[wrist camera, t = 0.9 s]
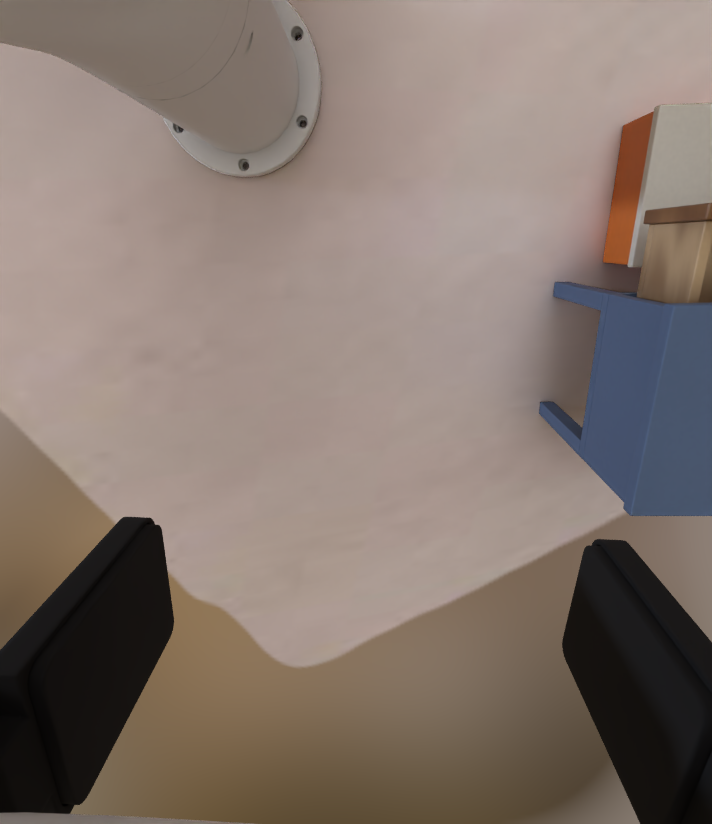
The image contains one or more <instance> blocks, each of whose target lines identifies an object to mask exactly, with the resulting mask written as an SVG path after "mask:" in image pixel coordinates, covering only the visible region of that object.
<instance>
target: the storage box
mask: <svg viewBox="0 0 712 824" xmlns="http://www.w3.org/2000/svg"><path fill="white" fill-rule="evenodd" d="M703 203H712V103H696V104H669V105H659V106H657V107H655V108H654V112H651V113H649V114H647V115H645V116H643V117H641V118H639V119H637V120H634V121H632V122H630V123H628V124H626V125H624V126H623V132H622V139H621V145H620V152H619V159H618V165H617V172H616V178H615V185H614V192H613V198H612V205H611V211H610V218H609V225H608V231H607V238H606V244H605V251H604V258H603V262H604V263H614V264H625V265H628V267H632V268H633V267H642V264H643V258H644V252H645V247H646V241H647V236H648V230H649V225H650V224H643V222H644V216H645V211H646V210H652V209H661V208H669V207H678V206H686V205H695V204H703Z"/></svg>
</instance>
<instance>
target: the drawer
mask: <svg viewBox="0 0 712 824" xmlns="http://www.w3.org/2000/svg"><path fill="white" fill-rule="evenodd" d="M643 224H650V225H649V230H648V236H647V241H646V247H645V252H644V258H643V264H642V269H641V275H640V280H639V286H638V291H637V298H642V299H647V300H651V301H656V302H661V303H710V302H712V203H703V204H695V205H686V206H678V207H669V208H661V209H652V210H646V211H645V216H644V222H643Z"/></svg>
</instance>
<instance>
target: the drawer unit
mask: <svg viewBox="0 0 712 824" xmlns="http://www.w3.org/2000/svg"><path fill="white" fill-rule="evenodd" d="M553 296H554V297H557V298H561V299H564V300H567V301H571V302H574V303H577V304H580V305H584V306H587V307H590V308H594V309H597V310H600V311H601V314H600V320H599V326H598V333H597V339H596V346H595V352H594V359H593V365H592V371H591V378H590V384H589V391H588V397H587V404H586V410H585V416H584V423H583V428H582V427H581V426H580V425H579V424H577V423H576V422H575V421H574V420H573V419H572V418H571V417H570V416H568V415H567V414H566V413H565V412H564V411H563V410H562V409H561V408H560V407H558V406H557V405H556V404H555V403H554V402H540V410H539V414H540V415H541V416H542V417H543V418H544V419H545V420H546V421H547V422H548V424H549V425H550V426H551V427H552V428H553V429H554V430H555V431H556V432H557V433H558V434H559V435H560V436H561V437H562V438H563V439H564V440H565V441H566V442H567V443H568V444H569V445H570V447H571V448H572V449H573V450H574V451H575V452H576V453H577V454H578V455H579V456H580V457H581V458H582V459H583V460H584V461H585V462H586V463H587V464H588V465H589V466H590V467H591V468H592V469H593V470H594V471H595V472H596V473H597V475H598V476H599V477H600V478H601V479H602V480H603V481H604V482H605V483H606V484H607V485H608V486H609V487H610V488H611V489H612V490H613V491H614V492H615V493H616V494H617V495H618V496H619V498H620V499H621V500H622V501H623V502H624V507H623V508H624V510H625V511H626V512H627V513H628V514H629V515H630V516H712V302H710V303H661V302H656V301H651V300H647V299H642V298H637V292H626V293H620V292H615V291H611V290H606V289H601V288H596V287H591V286H586V285H581V284H576V283H572V282H555V286H554V294H553Z"/></svg>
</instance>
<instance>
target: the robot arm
mask: <svg viewBox="0 0 712 824" xmlns="http://www.w3.org/2000/svg"><path fill="white" fill-rule="evenodd" d="M297 35H301V36H302V39H301V40H299V41H296V40H295V39H296V36H297ZM0 43H4V44H9V45H13V46H18V47H22V48H27V49H31V50H36V51H41V52H44V53H48V54H51V55H53V56H56V57H59V58H61V59H63V60H65V61H67V62H69V63H71V64H73V65H75V66H77V67H79V68H81V69H83V70H84V71H86V72H88V73H90V74H92V75H93V76H95V77H97V78H98V79H100V80H102V81H104V82H105V83H107V84H109V85H110V86H112V87H114V88H116V89H117V90H119V91H120V92H122V93H124V94H125V95H127V96H129V97H131V98H132V99H134V100H136V101H137V102H139V103H141V104H142V105H144V106H146V107H147V108H149V109H151V110H153V111H154V112H156V113H158V114H159V115H161V116H162V117H163V119H164V121H165V123H166V125H167V127H168V128H169V130H170V132H171V133H172V135H173V137H174V138H175V139H176V140H177V142H178V143H179V144H180V145H181V146H182V148H183V149H184V150H185V151H186V152H187V153H189V154H190V155H191V156H192V157H193V158H194V159H196V160H197V161H198V162H200V163H202V164H203V165H205V166H207V167H209V168H210V169H212V170H215V171H217V172H219V173H222V174H226V175H230V176H234V177H256V176H261V175H266V174H268V173H271V172H273V171H275V170H277V169H280V168H281V167H282V166H284V165H285V164H287V163H288V162H289V161H291V160H292V159H293V158H294V157H295V156H296V155H297V153H298V152H299V151H300V150H301V149H302V148H303V146H304V145H305V143H306V141H307V140H308V138H309V137H310V135H311V133H312V130H313V128H314V125H315V123H316V120H317V117H318V112H319V107H320V102H321V84H322V81H321V73H320V65H319V61H318V57H317V53H316V49H315V46H314V44H313V41H312V39H311V36H310V33H309V31H308V29H307V28H306V26H305V24H304V22H303V21H302V19H301V17H300V16H299V14H298V13H297V12H296V11H295V9H294V8H293V7H292V6H291V5H290V3H289V2H288V1H287V0H0ZM302 121H305V122H306V123H307V124H306V127H304V128H302V127H301V126H300V124H301V122H302ZM180 127H181V128H183V129H184V130H183V132H181V130H180ZM245 163H248V164H249V168H248V169H246V170H245V169H244V164H245ZM173 625H174V617H173V609H172V601H171V594H170V587H169V579H168V572H167V565H166V557H165V550H164V542H163V535H162V529H161V527H160V526H159V525H155V524H154V521H153V520H152V519H151V518H141V517H123V518H122V519H121V520H120V521H119V522H118V523H117V524H116V525H115V526H114V527H113V528H112V529H111V530H110V531H109V533H108V534H107V535H106V536H105V537H104V538H103V539H102V540H101V541H100V542H99V543H98V545H97V546H96V547H95V548H94V549H93V550H92V551H91V552H90V553H89V554H88V556H87V557H86V558H85V559H84V560H83V561H82V562H81V563H80V564H79V565H78V566H77V567H76V569H75V570H74V571H73V572H72V573H71V574H70V575H69V576H68V577H67V578H66V579H65V580H64V581H63V583H62V584H61V585H60V586H59V587H58V588H57V589H56V590H55V591H54V592H53V593H52V595H51V596H50V597H49V598H48V599H47V600H46V601H45V602H44V603H43V604H42V606H41V607H40V608H39V609H38V610H37V611H36V612H35V613H34V614H33V615H32V616H31V617H30V618H29V620H28V621H27V622H26V623H25V624H24V625H23V626H22V627H21V628H20V629H19V630H18V632H17V633H16V634H15V635H14V636H13V637H12V638H11V639H10V640H9V641H8V642H7V643H6V645H5V646H4V647H3V648H2V649H1V650H0V824H249V823H231V822H215V821H197V820H181V819H164V818H147V817H129V816H108V815H81V814H70V812H71V810H72V809H73V807H74V805H80V804H81V803H83V801H84V800H85V799H86V798H87V796H88V794H89V793H90V791H91V789H92V787H93V785H94V783H95V781H96V779H97V777H98V775H99V773H100V771H101V769H102V768H103V766H104V764H105V762H106V760H107V758H108V756H109V754H110V752H111V750H112V748H113V746H114V744H115V742H116V740H117V739H118V737H119V735H120V733H121V731H122V729H123V727H124V725H125V723H126V721H127V719H128V717H129V716H130V714H131V712H132V709H133V708H134V706H135V704H136V702H137V700H138V698H139V696H140V694H141V692H142V690H143V689H144V687H145V685H146V683H147V681H148V678H149V677H150V675H151V673H152V671H153V669H154V668H155V665H156V664H157V662H158V660H159V658H160V656H161V654H162V652H163V650H164V648H165V646H166V644H167V642H168V641H169V639H170V636H171V634H172V631H173ZM562 647H563V653H564V657H565V660H566V662H567V664H568V666H569V668H570V671H571V673H572V675H573V677H574V679H575V682H576V684H577V686H578V688H579V690H580V693H581V695H582V697H583V699H584V701H585V703H586V706H587V708H588V710H589V712H590V714H591V717H592V719H593V721H594V723H595V725H596V727H597V730H598V732H599V734H600V736H601V739H602V741H603V743H604V745H605V747H606V749H607V752H608V754H609V756H610V758H611V760H612V762H613V765H614V767H615V769H616V771H617V774H618V776H619V778H620V780H621V782H622V785H623V787H624V789H625V791H626V793H627V796H628V798H629V800H630V802H631V804H632V807H633V809H634V811H635V813H636V815H637V818H638V820H639V822H640V824H712V642H711V641H710V640H709V639H708V637H707V636H706V635H705V634H704V633H703V631H702V630H701V629H700V628H699V627H698V625H697V624H696V623H695V622H694V621H693V620H692V618H691V617H690V616H689V615H688V614H687V613H686V612H685V610H684V609H683V608H682V606H681V605H680V604H679V603H678V602H677V601H676V599H675V598H674V597H673V596H672V595H671V593H670V592H669V591H668V590H667V589H666V587H665V586H664V585H663V584H662V583H661V581H660V580H659V579H658V578H657V577H656V576H655V574H654V573H653V572H652V571H651V570H650V568H649V567H648V566H647V565H646V564H645V562H644V561H643V560H642V559H641V558H640V557H639V555H638V554H637V553H636V552H635V551H634V549H633V548H632V547H631V546H630V545H629V544H628V543H627V542H626V541H623V540H604V539H597V540H595V541H594V542H593V543H592V546H586V547H585V549H584V552H583V556H582V560H581V565H580V569H579V573H578V577H577V581H576V586H575V590H574V594H573V598H572V603H571V607H570V611H569V615H568V620H567V624H566V628H565V632H564V636H563V643H562Z"/></svg>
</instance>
